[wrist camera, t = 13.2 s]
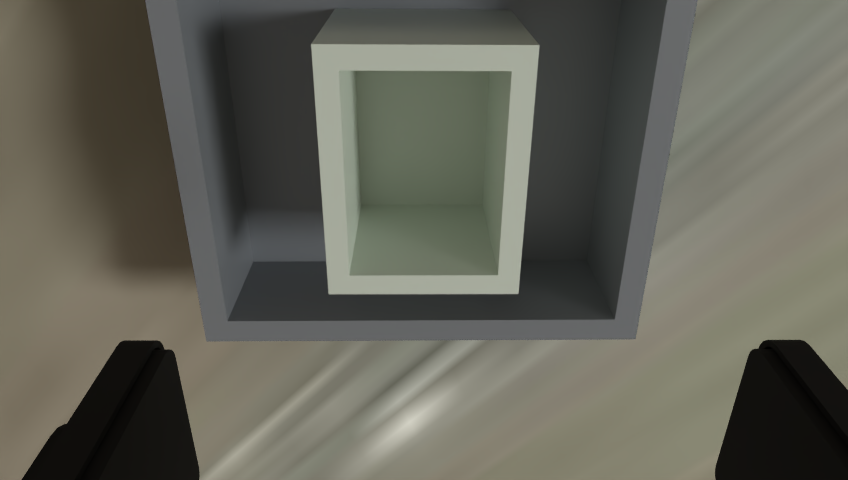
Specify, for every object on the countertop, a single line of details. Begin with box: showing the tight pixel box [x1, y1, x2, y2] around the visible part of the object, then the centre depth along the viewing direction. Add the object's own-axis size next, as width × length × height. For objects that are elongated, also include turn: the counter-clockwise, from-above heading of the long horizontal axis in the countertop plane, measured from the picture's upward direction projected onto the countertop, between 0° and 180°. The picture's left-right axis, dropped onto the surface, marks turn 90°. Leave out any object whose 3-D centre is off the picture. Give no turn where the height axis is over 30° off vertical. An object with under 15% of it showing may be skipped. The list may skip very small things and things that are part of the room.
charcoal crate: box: [145, 0, 697, 341], centre depth 27 cm, size 16×18×6 cm
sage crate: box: [311, 9, 540, 294], centre depth 26 cm, size 9×7×7 cm
